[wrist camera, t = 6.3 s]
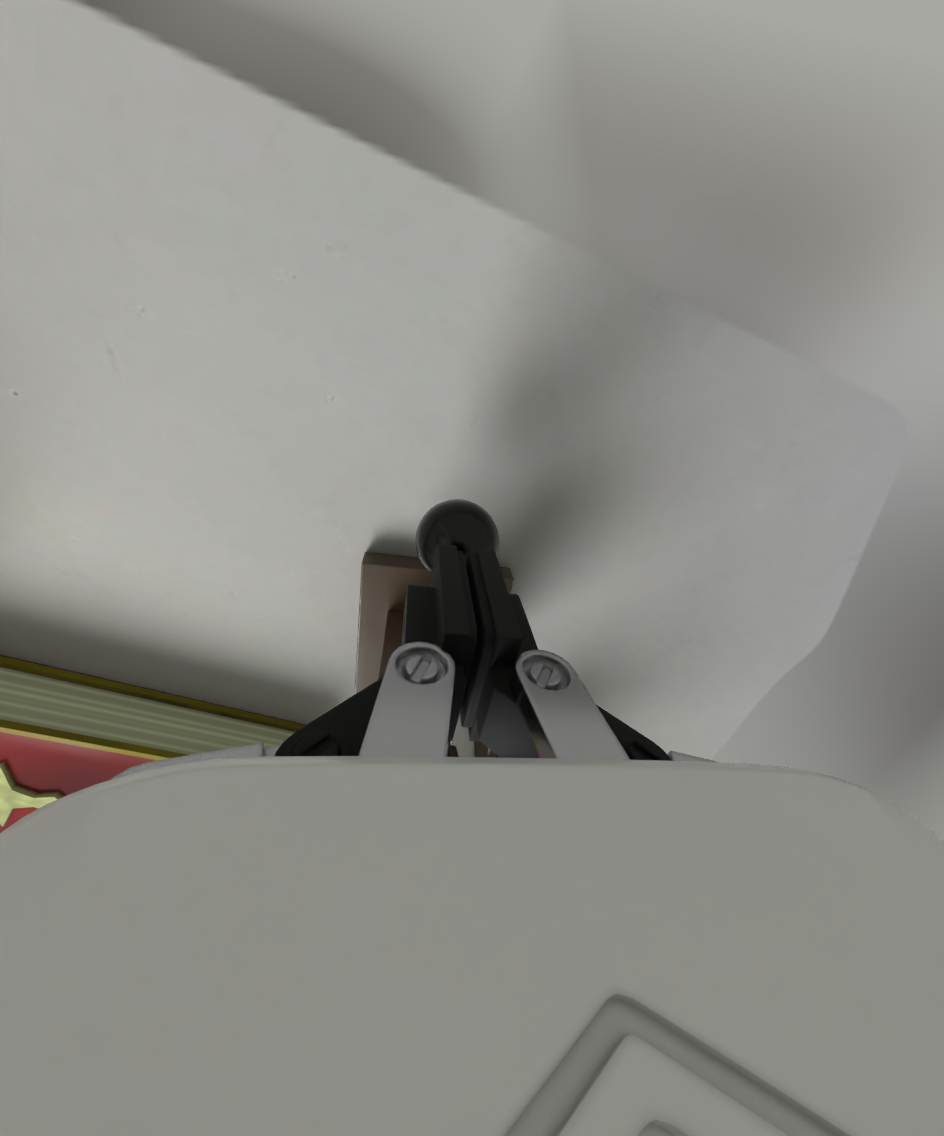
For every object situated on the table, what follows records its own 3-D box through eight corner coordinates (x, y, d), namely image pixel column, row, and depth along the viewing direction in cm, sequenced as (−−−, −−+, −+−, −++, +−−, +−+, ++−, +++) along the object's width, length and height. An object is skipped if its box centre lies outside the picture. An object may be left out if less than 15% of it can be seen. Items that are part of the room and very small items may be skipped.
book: (278, 820, 33) (260, 881, 29) (-52, 770, 26) (-128, 840, 23) (322, 729, 28) (307, 788, 24) (-71, 639, 21) (-172, 701, 18)
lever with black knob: (418, 499, 17) (422, 487, 14) (493, 509, 17) (513, 500, 14) (385, 802, 17) (381, 859, 14) (459, 803, 18) (470, 858, 15)
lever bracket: (364, 551, 21) (308, 750, 11) (510, 568, 23) (576, 758, 13) (357, 686, 26) (312, 910, 16) (477, 693, 28) (506, 903, 17)
